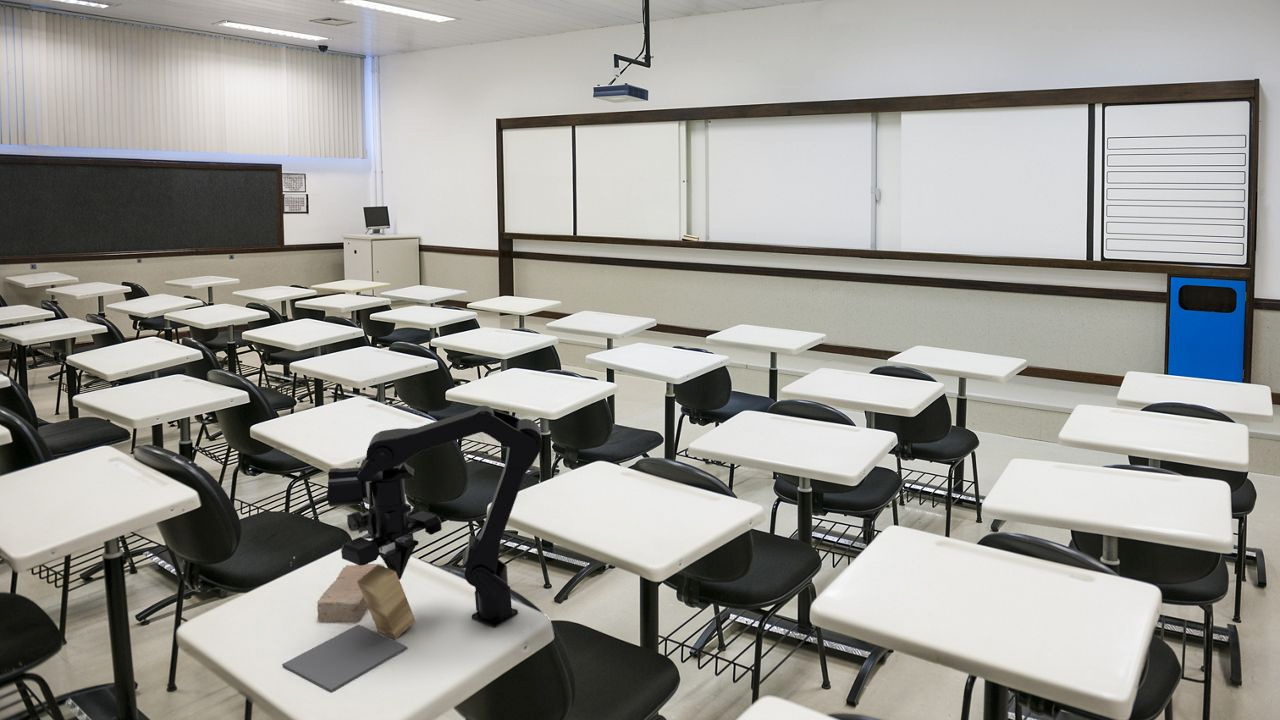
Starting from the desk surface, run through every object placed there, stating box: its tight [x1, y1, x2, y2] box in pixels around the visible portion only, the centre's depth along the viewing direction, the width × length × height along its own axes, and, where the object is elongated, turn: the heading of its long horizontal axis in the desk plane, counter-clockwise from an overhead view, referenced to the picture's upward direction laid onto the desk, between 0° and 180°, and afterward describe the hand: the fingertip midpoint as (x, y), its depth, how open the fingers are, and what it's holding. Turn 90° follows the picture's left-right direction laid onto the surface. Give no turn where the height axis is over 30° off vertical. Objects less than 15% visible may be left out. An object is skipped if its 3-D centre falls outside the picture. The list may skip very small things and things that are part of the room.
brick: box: [316, 563, 386, 624], centre depth 181 cm, size 17×8×5 cm, turn 177°
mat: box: [281, 623, 408, 693], centre depth 161 cm, size 14×16×1 cm
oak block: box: [357, 565, 416, 640], centre depth 167 cm, size 5×5×12 cm
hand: (397, 579), depth 169 cm, fingers closed
